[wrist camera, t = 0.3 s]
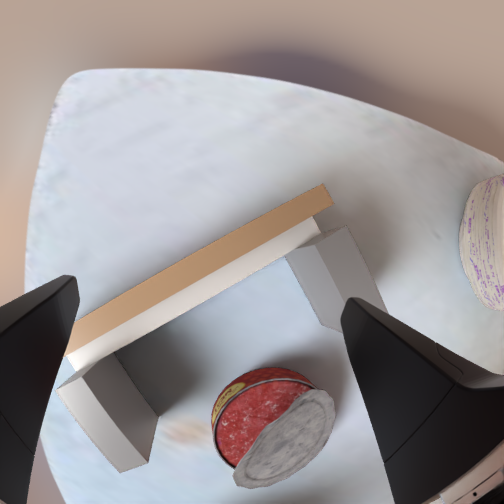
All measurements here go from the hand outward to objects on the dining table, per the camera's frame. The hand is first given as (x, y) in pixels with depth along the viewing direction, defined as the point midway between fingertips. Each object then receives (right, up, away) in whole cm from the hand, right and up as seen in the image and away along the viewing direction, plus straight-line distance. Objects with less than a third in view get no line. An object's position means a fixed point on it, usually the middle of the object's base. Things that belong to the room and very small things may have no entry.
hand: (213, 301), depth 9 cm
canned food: (+3, -13, +15) cm, 20 cm away
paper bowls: (+29, +2, +20) cm, 35 cm away
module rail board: (-2, -5, +14) cm, 15 cm away
